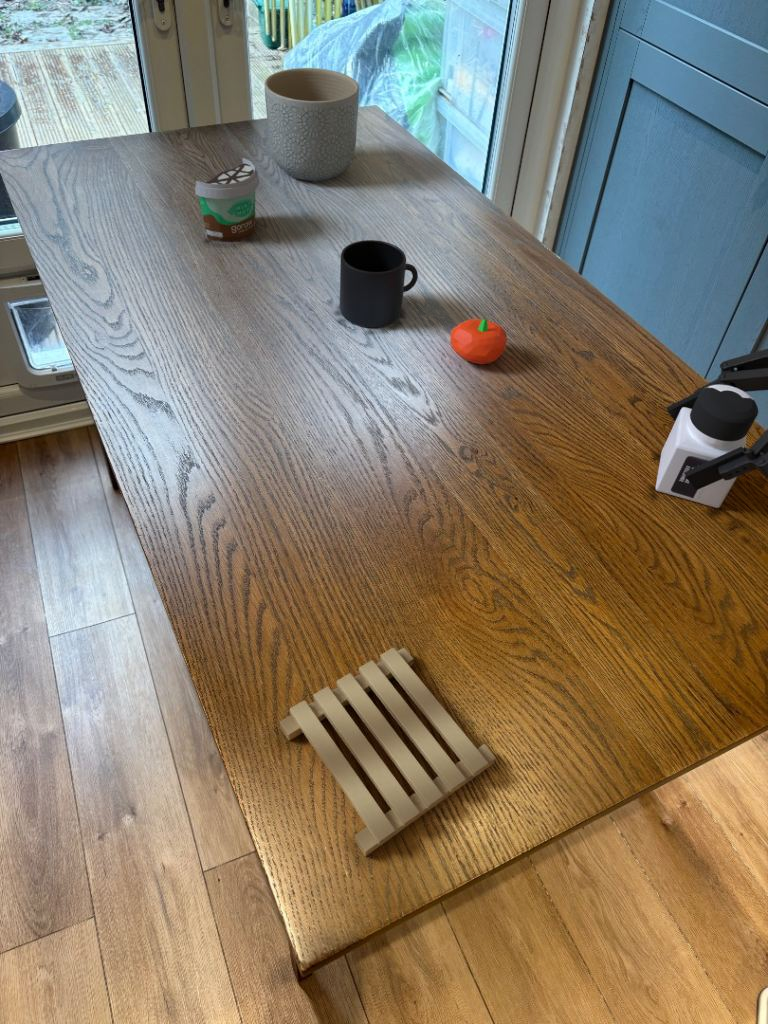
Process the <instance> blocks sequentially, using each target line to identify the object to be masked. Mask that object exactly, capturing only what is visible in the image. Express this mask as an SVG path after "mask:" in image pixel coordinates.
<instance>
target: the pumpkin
mask: <svg viewBox="0 0 768 1024" xmlns="http://www.w3.org/2000/svg"><path fill="white" fill-rule="evenodd" d="M449 338H450V340H449V341H450V345H451V349H453V351H454V352H455V353H456V354H457V355H458V356H459V357H460V358H461V359H463V360H465V361H466V362H470V363H473V364H477V365H478V364H479V365H484V364H486V365H487V364H490V363H493V362H495V361H496V360H497V359H499V358H500V357H501V355H502V354H503V352H504V351H505V349H506V346H507V343H508V336H507V333H506V331H505V329H503V327H502V326H501V325H499V324H498V323H495V322H493V321H490V320H489V319H486V318H481V319H480V318H471V319H468V320H465V321H463V322H460V323H459V324H458V325H457V326H455V327H453V328H452V330H451V333H450V335H449Z"/></svg>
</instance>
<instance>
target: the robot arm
mask: <svg viewBox="0 0 768 1024" xmlns="http://www.w3.org/2000/svg"><path fill="white" fill-rule="evenodd" d="M719 368H720V369H721V370H720V374H719V375H718V377H717V378H716V379H715V380H713V381H710V382H708V383H707V384H705V385H702V386H701V387H699V388H697V389H696V390H694V391H693V393H692V394H690V395H688V396H686V397H684V398H683V399H680V400H678V401H676V402H674V403H673V404H670V405H669V406H666V412H667V413H668V414H669V416H670V417H671V418H672V419H673V421H674V422H675V421H676V419H677V417H678V415H679V413H680V410H681V409H682V408H683V407H686V408H690V409H692V408H693V406H694V404H695V402H696V400H697V398H698V395H699V393H700V392H701V391H702V390H703V389H704V388H706V387H709V386H712V385H728V386H732V387H735V388H738V389H740V390H742V391H744V392H746V393H747V392H748V393H749V392H759V391H760V392H761V391H768V348H765V349H761V350H758V351H755V352H750V353H748V354H744V355H741V356H737V357H734V358H731V359H727V360H724V361H722V362H721V363H720V364H719ZM751 471H758V472H759V473H761V474H762V475H763V476H764V477H765V479H766V480H768V428H767V429H766V430H765V432H764V433H762V434H761V436H760V437H758V439H757V440H755V442H754V443H753V444H752V445H751V446H750V447H749V448H748V447H746V448H745V447H744V448H742V446H741V447H739V448H737V449H735V450H732V451H730V452H728V453H726V454H724V455H721V456H719V457H717V458H715V459H713V460H710V461H708V462H706V463H704V464H702V465H699V466H697V467H695V468H693V469H691V470H688V471H686V472H684V473H685V477H686V478H687V479H688V481H689V482H690V483H691V484H692V486H693V487H694V488H695V489H696V490H698V489H701V488H703V487H705V486H707V485H710V484H712V483H714V482H717V481H719V480H721V479H724V480H731V479H733V478H735V477H737V478H738V477H740V476H742V475H744V474H747V473H749V472H751Z"/></svg>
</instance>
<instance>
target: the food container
mask: <svg viewBox="0 0 768 1024" xmlns="http://www.w3.org/2000/svg"><path fill="white" fill-rule="evenodd" d="M259 185H260V178H259V175H258V171H257V169H256V167H255V165H254V163H252V162H251V161H250V160H249V159H247V158H245V157H242V164H239V165H238V166H236V167H234V168H232V169H227V170H223V171H220V172H219V173H218V174H216V175H215V176H214V177H213V178H211V179H209V180H208V181H206V182H203V181H199V180H195V188H194V189H195V190H194V191H195V193H194V194H195V195H196V196H198V198H199V199H198V200H199V203H200V208H201V213H202V214H201V215H202V218H203V223H204V227H205V233H206V237H207V239H209V240H212V241H216V242H226V243H227V242H228V243H229V242H237V241H242V240H246V239H247V238H249V237H251V236H252V235H253V234H254V232H255V229H256V189H258V187H259Z"/></svg>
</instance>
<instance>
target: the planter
mask: <svg viewBox="0 0 768 1024" xmlns="http://www.w3.org/2000/svg"><path fill="white" fill-rule="evenodd" d="M264 99H265V101H264V102H265V108H266V109H265V111H266V121H267V132H268V133H267V135H268V143H269V148H270V154H271V156H272V158H273V160H274V162H275V164H276V165H277V166H278V167H279V168H280V170H282V171H283V172H284V173H285V174H287V175H288V176H290V177H292V178H295V179H297V180H301V181H306V182H322V181H328V180H332V179H334V178H337V177H338V176H340V175H342V173H344V172H345V171H347V169H348V168H349V167H350V165H351V163H352V161H353V159H354V156H355V152H356V144H357V132H358V118H359V102H360V101H359V100H360V85H359V83H358V82H357V80H355V79H354V78H353V77H351V76H350V75H347V74H346V73H342V72H339V71H335V70H330V69H327V68H326V69H324V68H317V67H298V68H290V69H284V70H280V71H277V72H274V73H272V74H270V75H268V77H267V78H266V79H265V80H264Z"/></svg>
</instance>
